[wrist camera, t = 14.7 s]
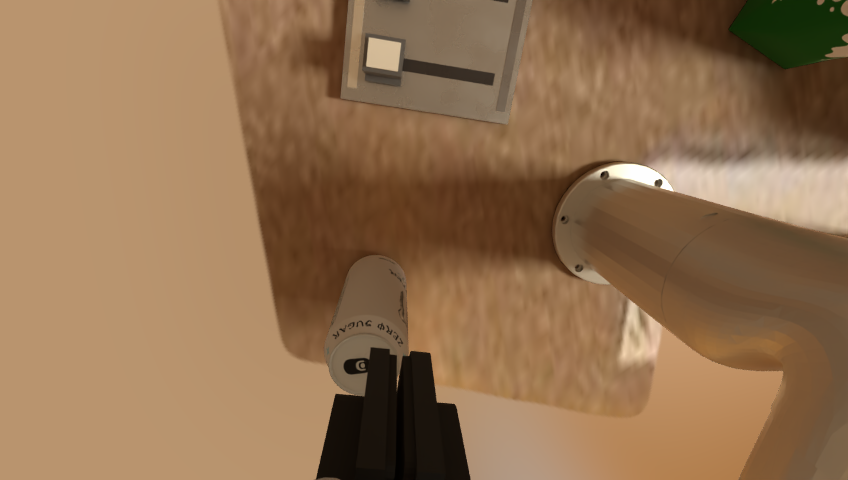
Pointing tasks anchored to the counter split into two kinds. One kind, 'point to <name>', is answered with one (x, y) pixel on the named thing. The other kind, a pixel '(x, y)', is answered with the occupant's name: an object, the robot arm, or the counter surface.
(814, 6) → the milk carton
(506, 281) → the counter surface
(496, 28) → the panel
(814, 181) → the counter surface
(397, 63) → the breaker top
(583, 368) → the counter surface
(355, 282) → the energy drink can
